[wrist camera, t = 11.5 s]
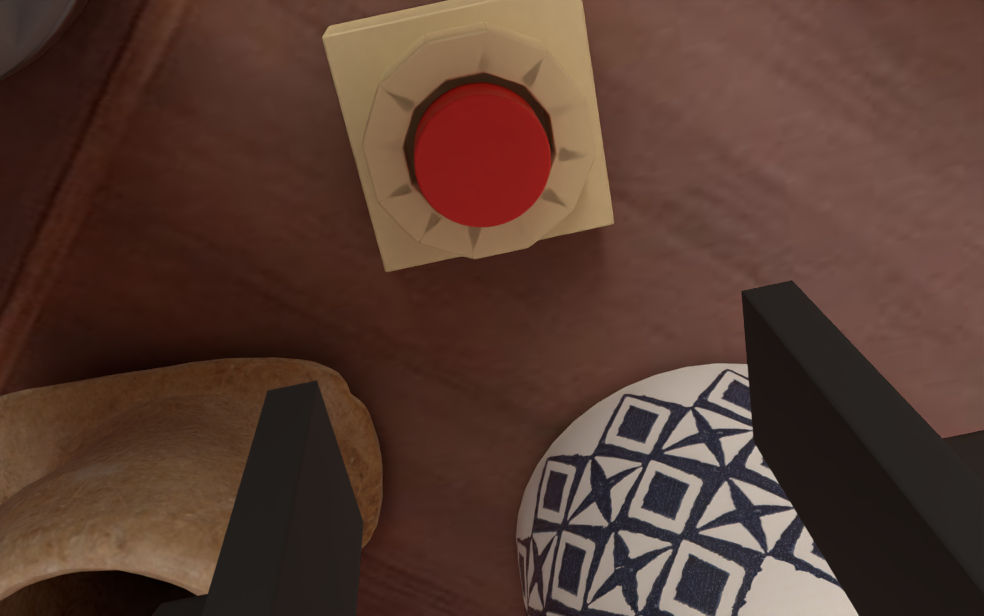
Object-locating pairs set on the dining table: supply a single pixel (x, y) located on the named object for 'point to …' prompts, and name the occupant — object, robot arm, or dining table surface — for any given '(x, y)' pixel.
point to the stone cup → (145, 480)
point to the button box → (453, 62)
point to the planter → (668, 511)
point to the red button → (481, 155)
